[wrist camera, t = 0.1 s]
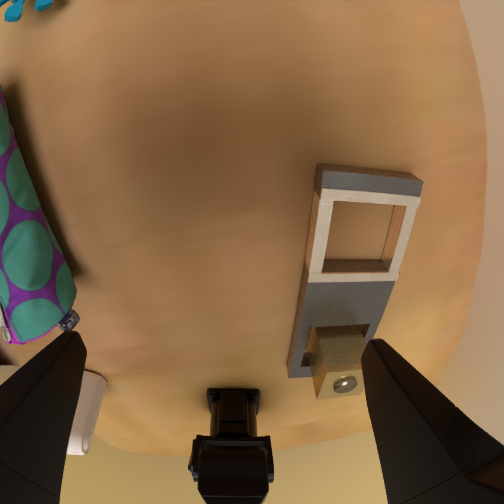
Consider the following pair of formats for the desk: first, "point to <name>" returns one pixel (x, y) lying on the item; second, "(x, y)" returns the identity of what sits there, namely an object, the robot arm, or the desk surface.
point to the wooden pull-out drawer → (336, 360)
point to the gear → (16, 9)
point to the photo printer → (86, 413)
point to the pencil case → (28, 253)
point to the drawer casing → (350, 271)
